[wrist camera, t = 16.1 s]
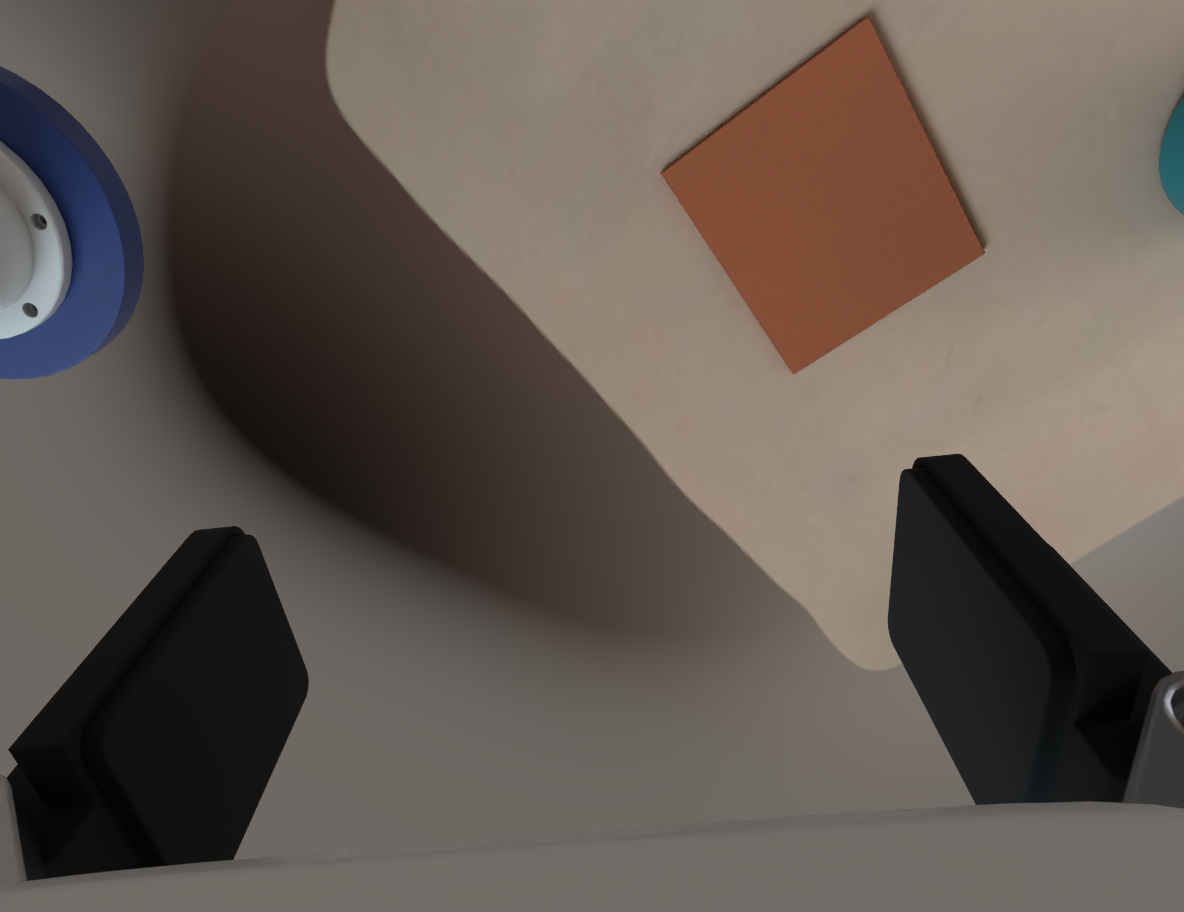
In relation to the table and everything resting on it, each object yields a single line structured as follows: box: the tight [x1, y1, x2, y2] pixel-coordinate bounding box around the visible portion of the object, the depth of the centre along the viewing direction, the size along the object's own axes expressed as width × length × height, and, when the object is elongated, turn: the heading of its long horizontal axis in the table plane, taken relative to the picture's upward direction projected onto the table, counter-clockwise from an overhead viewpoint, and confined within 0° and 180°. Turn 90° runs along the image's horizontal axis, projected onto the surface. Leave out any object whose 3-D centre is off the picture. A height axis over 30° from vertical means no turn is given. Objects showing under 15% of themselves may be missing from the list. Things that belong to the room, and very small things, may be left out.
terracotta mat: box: [661, 17, 985, 374], centre depth 41 cm, size 14×12×1 cm
